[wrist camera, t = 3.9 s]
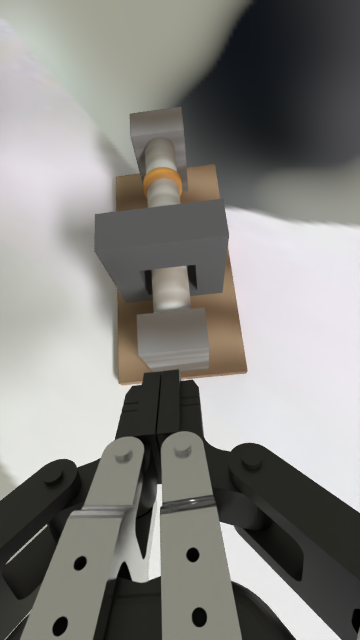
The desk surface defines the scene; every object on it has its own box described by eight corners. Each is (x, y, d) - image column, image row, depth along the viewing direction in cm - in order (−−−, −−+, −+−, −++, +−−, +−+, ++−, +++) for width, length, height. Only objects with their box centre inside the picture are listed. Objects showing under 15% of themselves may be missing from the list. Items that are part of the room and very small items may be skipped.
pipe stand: (245, 373, 30) (261, 349, 21) (121, 385, 30) (89, 366, 22) (214, 172, 38) (216, 98, 30) (118, 184, 39) (94, 115, 30)
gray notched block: (222, 292, 29) (228, 235, 20) (126, 303, 29) (94, 250, 21) (218, 264, 30) (223, 198, 21) (126, 274, 30) (95, 214, 22)
